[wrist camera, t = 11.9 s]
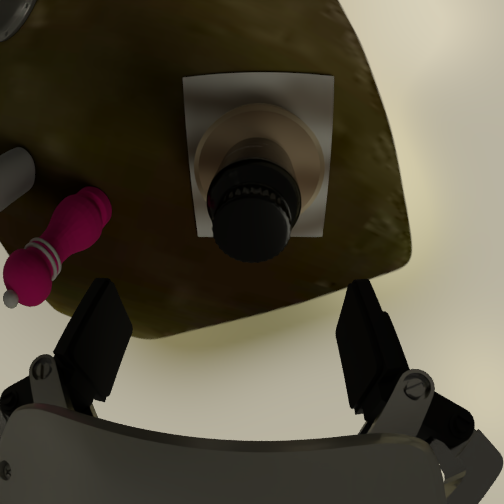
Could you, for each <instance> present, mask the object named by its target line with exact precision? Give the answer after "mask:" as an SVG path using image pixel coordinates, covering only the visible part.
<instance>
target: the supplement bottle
mask: <svg viewBox="0 0 504 504" xmlns="http://www.w3.org/2000/svg"><path fill="white" fill-rule="evenodd" d="M206 202H207V210H208V214H209V217H210V219H211V221H212V225H213V226H212V232H213V237H214V239H215V242H216V244H218V245H219V248H220V249H221V250H223V252H224V253H225V254H228V255H229V256H230V257H231V258H235V259H236V260H240V261H242V262H249V263H253V262H257V263H259V262H261V261H266V260H268V259H272V258H273V257H274V256H277V255H278V254H279V253H280V252H281V251H283V249H284V247H285V246H286V245H287V243H288V240H289V239H290V234H291V230H292V228H293V227H294V226H295V224H296V222H297V220H298V218H299V215H300V212H301V205H302V201H301V193H300V189H299V185H298V182H297V179H296V175H295V172H294V169H293V166H292V163H291V160H290V158H289V156H288V154H287V153H286V151H285V150H284V149H283V148H282V147H281V146H280V145H279V144H277V143H276V142H274V141H272V140H269V139H266V138H260V137H253V138H247V139H244V140H242V141H240V142H238V143H236V144H235V145H234V146H232V147H231V148H230V149H229V151H228V152H227V153H226V155H225V157H224V158H223V160H222V162H221V164H220V166H219V168H218V170H217V171H216V173H215V175H214V177H213V179H212V181H211V183H210V186H209V189H208V192H207V199H206Z"/></svg>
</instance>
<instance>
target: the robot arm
mask: <svg viewBox="0 0 504 504" xmlns="http://www.w3.org/2000/svg"><path fill="white" fill-rule="evenodd" d="M35 3H36V0H0V42H3V41H5V40H7V39H9V38H10V37H12V36H13V35H14V34H15V33H16V32H17V31H18V30H19V29H20V27H21V26H22V25H23V23H24V22H25V21H26V19H27V18H28V16H29V14H30V13H31V11H32V9H33V7H34V5H35ZM132 330H133V328H132V324H131V322H130V320H129V317H128V315H127V313H126V311H125V309H124V306H123V304H122V302H121V299H120V297H119V295H118V292H117V290H116V287H115V285H114V283H113V282H111V281H110V279H108V278H96V279H95V280H94V281H93V283H92V284H91V286H90V288H89V289H88V291H87V292H86V294H85V296H84V297H83V299H82V301H81V302H80V304H79V306H78V307H77V309H76V311H75V312H74V314H73V316H72V318H71V319H70V321H69V323H68V325H67V327H66V328H65V330H64V332H63V334H62V336H61V338H60V340H59V341H58V344H57V345H56V348H55V349H54V351H53V353H54V354H55V355H54V357H52V356H51V355H48V354H44V355H40V356H39V357H37V358H36V359H35V360H34V361H33V362H32V364H31V366H30V369H29V376H27V377H26V378H24V379H22V380H20V381H18V382H17V383H15V384H13V385H11V386H10V387H8V388H7V389H5V390H4V391H3V393H2V395H1V397H0V504H478V503H479V502H480V501H481V499H482V498H483V497H484V495H485V494H486V492H487V491H488V490H489V488H490V487H491V486H492V484H493V483H494V481H495V480H496V478H497V477H498V475H499V474H500V472H501V470H502V467H503V458H502V456H501V454H500V453H499V452H498V450H497V449H496V448H495V447H494V446H493V445H492V444H491V442H490V441H489V440H488V439H487V438H486V437H485V436H484V435H483V433H482V432H481V431H480V430H479V429H478V430H477V431H476V430H475V429H474V419H473V416H472V415H471V413H470V412H468V411H467V410H466V409H464V408H462V407H461V406H459V405H457V404H455V403H453V402H452V401H450V400H448V399H447V398H445V397H443V396H441V395H440V394H438V393H436V392H435V391H434V390H435V387H434V382H433V380H432V378H431V377H430V376H429V375H428V374H427V373H426V372H424V371H422V370H419V369H411V370H410V369H409V367H408V364H407V361H406V358H405V355H404V352H403V350H402V347H401V345H400V342H399V339H398V337H397V334H396V331H395V329H394V326H393V324H392V321H391V319H390V317H389V315H388V313H387V312H383V311H382V309H381V306H380V304H379V302H378V299H377V297H376V294H375V292H374V290H373V288H372V285H371V283H370V281H369V280H368V279H357V280H353V282H352V283H351V284H349V285H348V287H347V291H346V296H345V299H344V303H343V306H342V310H341V314H340V317H339V321H338V324H337V327H336V339H337V344H338V349H339V353H340V358H341V363H342V368H343V373H344V378H345V383H346V389H347V394H348V399H349V405H350V407H351V409H353V408H354V409H355V414H364V419H365V420H366V422H365V424H364V425H363V427H362V429H361V430H360V432H359V433H358V435H350V436H341V437H332V438H322V439H307V440H291V441H237V440H218V439H206V438H196V437H188V436H181V435H173V434H167V433H161V432H156V431H150V430H145V429H140V428H135V427H131V426H127V425H122V424H118V423H114V422H111V421H107V420H103V419H100V418H98V416H97V414H96V412H95V409H94V407H93V404H92V402H93V399H95V400H98V401H102V402H105V400H106V397H107V396H109V395H110V393H111V390H112V387H113V384H114V381H115V378H116V375H117V372H118V369H119V367H120V364H121V361H122V358H123V355H124V353H125V350H126V347H127V345H128V342H129V339H130V337H131V334H132ZM439 464H440V465H439ZM441 470H442V471H443V473H444V475H445V481H444V482H443V477H442V473H441Z"/></svg>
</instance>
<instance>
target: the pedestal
mask: <svg viewBox="0 0 504 504" xmlns="http://www.w3.org/2000/svg"><path fill="white" fill-rule="evenodd" d="M183 92H184V107H185V121H186V133H187V145H188V155H189V165H190V175H191V184H192V193H193V201H194V209H195V217H196V225H197V232H198V237H213V232H212V226H213V225H212V221H211V219H210V217H209V214H208V210H207V202H206V199H207V192H208V189H209V186H210V183H211V181H212V179H213V177H214V175H215V173H216V171H217V170H218V168H219V166H220V164H221V162H222V160H223V158H224V157H225V155H226V153H227V152H228V151H229V149H230V148H231V147H232V146H234V145H235V144H236V143H238V142H240V141H242V140H244V139H247V138H253V137H260V138H266V139H269V140H272V141H274V142H276V143H277V144H279V145H280V146H281V147H282V148H283V149H284V150H285V151H286V153H287V154H288V156H289V158H290V160H291V163H292V166H293V169H294V172H295V175H296V179H297V182H298V185H299V189H300V193H301V201H302V205H301V212H300V215H299V218H298V220H297V222H296V224H295V226H294V227H293V228H292V230H291V234H290V237H322V234H323V226H324V217H325V209H326V199H327V190H328V179H329V168H330V155H331V141H332V124H333V100H334V76H326V75H315V74H301V73H277V72H249V73H226V74H212V75H201V76H192V77H184V78H183Z"/></svg>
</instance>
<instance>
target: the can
mask: <svg viewBox="0 0 504 504" xmlns="http://www.w3.org/2000/svg"><path fill="white" fill-rule="evenodd" d="M34 180H35V165H34V161H33V159H32V157H31V155H30V154H29V153H28V152H27V151H26V150H25V149H23V148H21V147H16V148H14V149H12V150H10V151H8V152H6V153H4V154H2V155H0V212H1V211H2V210H3V209H5V208H6V207H7V206H8V205H10V204H11V203H12V202H14V201H15V200H16V199H18V198H19V197H20V196H22V195H23V194H24V193H26V192H27V191H28V190H30V189H31V188H32V186H33V184H34Z"/></svg>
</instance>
